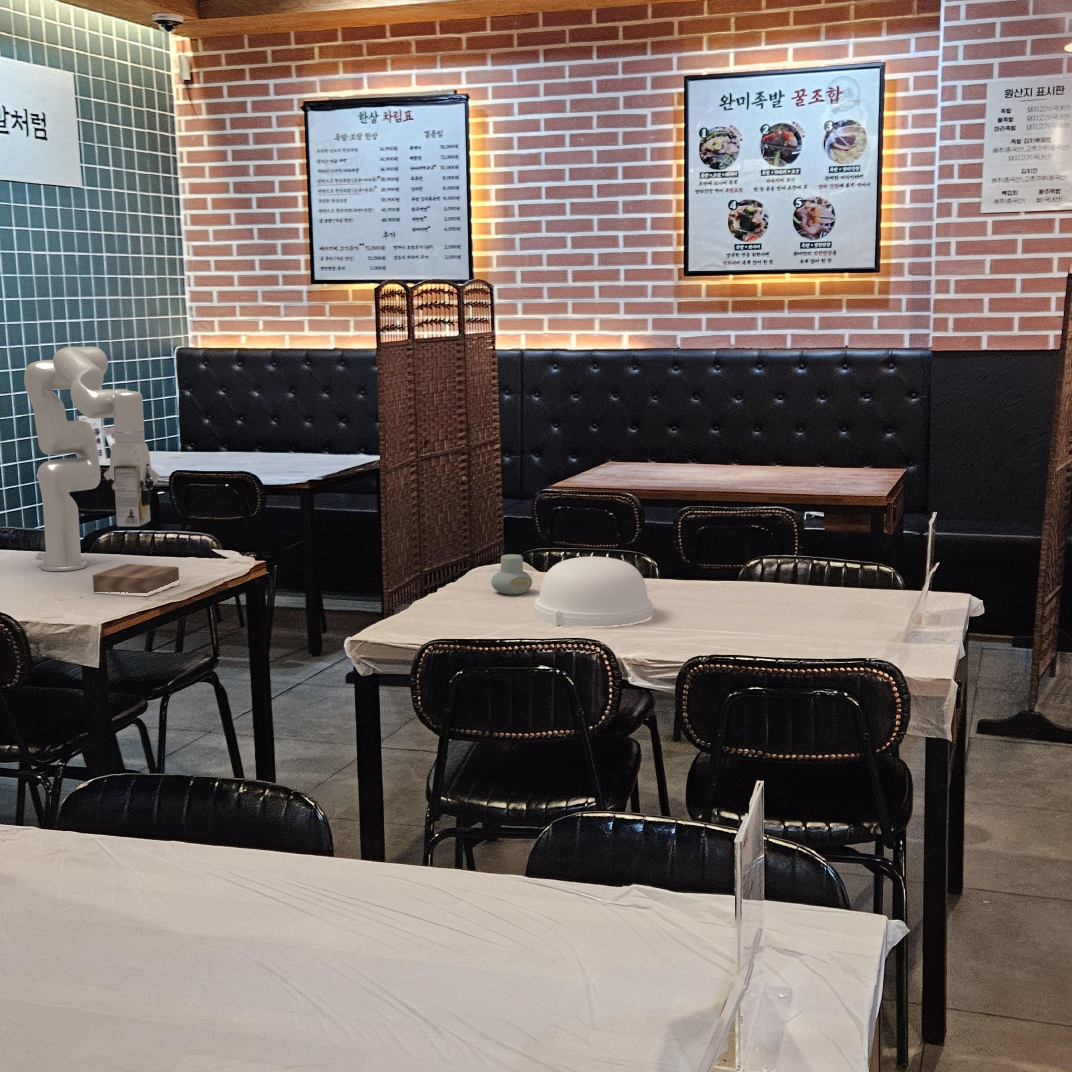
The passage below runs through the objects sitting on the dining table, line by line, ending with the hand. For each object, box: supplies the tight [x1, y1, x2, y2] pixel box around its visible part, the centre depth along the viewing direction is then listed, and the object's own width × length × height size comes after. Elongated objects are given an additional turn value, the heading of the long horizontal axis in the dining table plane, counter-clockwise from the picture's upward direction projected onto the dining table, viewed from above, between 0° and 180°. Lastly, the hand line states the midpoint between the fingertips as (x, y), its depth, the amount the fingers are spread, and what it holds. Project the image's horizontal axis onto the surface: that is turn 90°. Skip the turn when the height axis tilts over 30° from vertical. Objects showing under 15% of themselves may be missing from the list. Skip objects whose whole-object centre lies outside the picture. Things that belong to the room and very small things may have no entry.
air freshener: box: [490, 553, 533, 596], centre depth 352 cm, size 11×8×10 cm
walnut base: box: [92, 563, 180, 593], centre depth 356 cm, size 16×16×5 cm
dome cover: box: [532, 556, 654, 626], centre depth 328 cm, size 32×30×14 cm
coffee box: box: [114, 465, 152, 527], centre depth 352 cm, size 9×6×16 cm
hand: (133, 504), depth 352 cm, fingers closed on coffee box, 7 cm apart
